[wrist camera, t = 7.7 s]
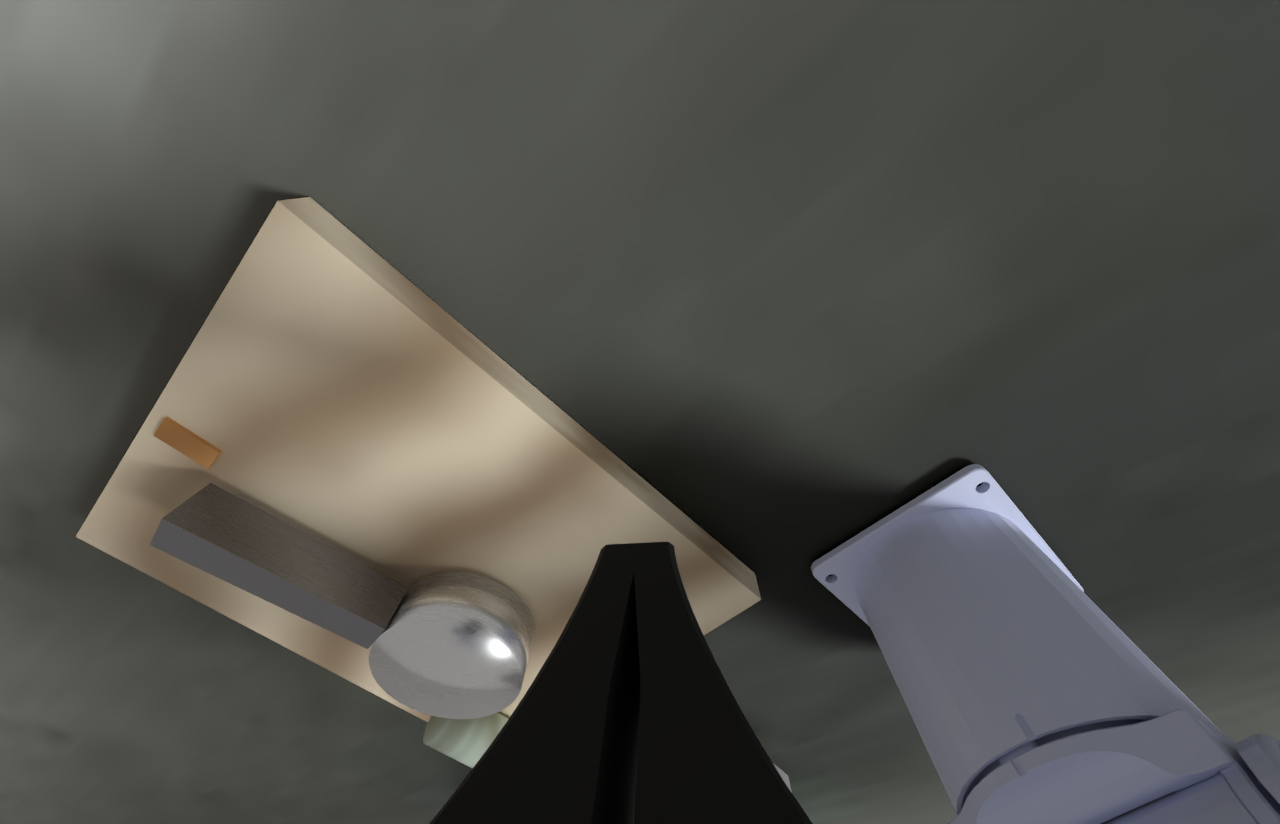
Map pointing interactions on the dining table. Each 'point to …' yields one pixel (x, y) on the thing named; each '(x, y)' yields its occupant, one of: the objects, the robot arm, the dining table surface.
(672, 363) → the dining table surface
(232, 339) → the oak board
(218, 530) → the grey spoon
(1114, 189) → the dining table surface
